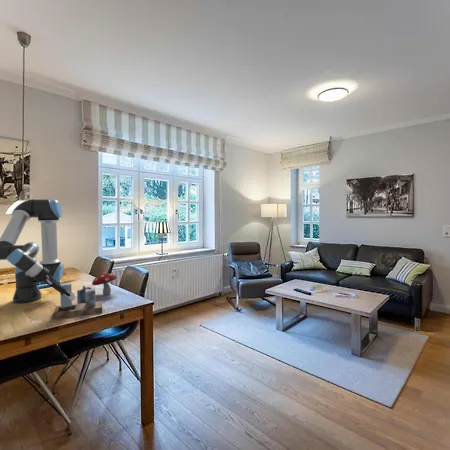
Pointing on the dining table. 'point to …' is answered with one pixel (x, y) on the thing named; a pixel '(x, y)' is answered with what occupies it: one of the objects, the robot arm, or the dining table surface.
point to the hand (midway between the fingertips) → (73, 297)
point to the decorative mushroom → (104, 281)
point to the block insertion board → (80, 307)
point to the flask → (81, 295)
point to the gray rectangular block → (65, 300)
